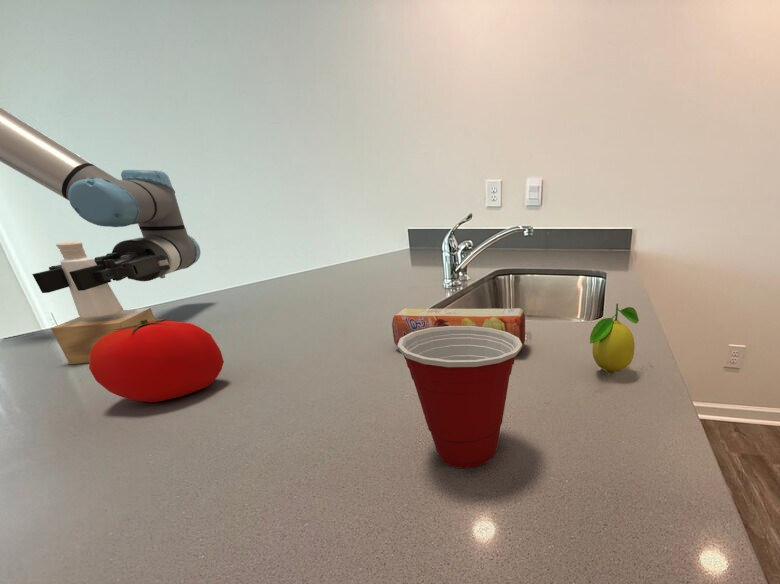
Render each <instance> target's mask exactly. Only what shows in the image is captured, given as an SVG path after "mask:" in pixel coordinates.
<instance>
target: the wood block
mask: <svg viewBox="0 0 780 584" xmlns="http://www.w3.org/2000/svg"><path fill="white" fill-rule="evenodd" d="M141 320H147V321H151V320H156V319H155V316H154V313H153V310H152V309H151V308H150V307H147V308H134V309H123V311H121V312H118V313H116V314H111V315H106V316H101V317H91V318H84V317H81V316H77V317H75V318H73V319H70V320H68V321H65V322H62V323H60V324H57V325H55V326H52V327H50V330H51V332H52V334H53V335H54V337H55V340H56V341H57V344H58V345H59V347H60V349H61V351H62V352H63V354H64V356H65V359H66V360H67V362H68V363H69V365H79V364H89V362H90V351H91V350H92V348H93V347H94V345H95V343H96V342H97V341H98V340H99V339H100V338H102V337H104V336H106V335H108V334H110V333H112V332H114V331H116V330H113V329H119V328H124V327H129V326H133V325H137V324H139V323H138V322H140V321H141ZM108 330H111V331H108Z"/></svg>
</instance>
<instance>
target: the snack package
mask: <svg viewBox="0 0 780 584" xmlns="http://www.w3.org/2000/svg"><path fill="white" fill-rule="evenodd" d="M444 326H475V327H484V328H492V329H496V330H500V331H504V332H508V333H510V334H512V335H514V336H516V337H518V338H519V339H520V341H521V343H522V348H521V350H520V351H519V352H518V354H520V353H521V352H522V350H523V349H524V348H523V347H524V345H525V341H526V315H525V311H524V310H523V309H522V308H520V307H516V308H407V307H403V308H401V309H400V310H398V311H397V312H396V313H395V314H394V315H393V317H392V322H391V327H392V336H393V342H394V344H395V346H397V345H398V343H399V340H400V338H402V337H404V336H405V335H407V334H409V333H411V332H415V331H419V330H423V329H427V328H435V327H444Z"/></svg>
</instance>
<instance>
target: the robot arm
mask: <svg viewBox="0 0 780 584" xmlns="http://www.w3.org/2000/svg"><path fill="white" fill-rule="evenodd" d="M0 162H1V163H2V164H4V165H6V166H7V167H9V168H11V169H13V170H15V171H16V172H18V173H20V174H22V175H23V176H25V177H27V178H28V179H30V180H32V181H33V182H35V183H37V184H39V185H41V186H43V187H44V188H46V189H48V190H49V191H52V192H53V193H55V194H56V195H58V196H59V197H62V198H63V199H66V200H67V201H69V204H70V206H71V207H72V209H73V210H74V211H75V212H76V213H77V215H78V216H79V217H81V218H82V219H83V220H84V221H87V222H88V223H90V224H93V225H95V226H99V227H108V228H109V227H111V228H122V227H123V228H124V227H128V226H131V225H133V226H134V225H137V226H138V227H139V230H140V232H141V235H142V236H140V237H135V238H131V239H125V240H123V241H119V242H118V243H116V244H115V246H114V247H113V248H112V250H111V252H109V253H106V254H105V255H101V256H96V257H94V258H93V260H94V261H95V263H96V264H97V265H95V266H91V267H87V268H83V269H79V270H75V271H71V272H69V273H70V275H71V277H72V279H73V281H74V283H75V285H76V287H77V289H78V291H82V290H87V289H90V288H93V287H96V286H99V285H103V284H106V283H108V284H109V283H111V282H112V281H114V282H115V281H116V282H119V281H122V280H124V279H126V278H127V279H128V280H133V281H137V282H151V281H152V280H156V279H163V280H164V279H165V278H166V275H168V274H171V273H174V272H177V271H180V270H185V269H188V268H190V267H191V266H193V265H194V264H195V263H197V262H198V261H199V260H200V257H201V248H200V245H199V243H198V242H197V240H196V239H195V238H194V237H193V236H191V235H190V234H188V232H187V228H186V226H185V224H184V220H183V217H182V213H181V210H180V206H179V204H178V199H177V196H176V190H175V189H174V187H173V185H172V182H171V179H170V177H169V175H168V174H167V173H166V172H165V171H162V170H151V169H122V171H121V173H120V176H121V179H118V178H116V177H115V176H113V175H112V174H109V173H108V172H106V171H105V170H103V169H101V168H99V167H98V166H97V165H95V164H93V162H90V161H89V160H87V159H86V158H84V157H82V156H81V155H79V154H77V153H76V152H74V151H73V150H72V149H69V148H68V147H66V146H65V145H63V144H61V143H60V142H58V141H56V140H55V139H53V138H52V137H50V136H48V135H46V134H45V133H43V132H42V131H41V130H38V129H37V128H35V127H34V126H32V125H31V124H29V123H27V122H26V121H24V120H22V119H21V118H19V117H18V116H16V115H15V114H12V112H9V110H6V109H5V108H2V107H1V106H0ZM31 275H32V277H33V278H34V280H35V282H36V284H37V286H38V288H39V289H40V291H41V294H50V293H53V292H56V291H59V290H63V289H66V288H69V287H70V286H69V284H68V281H67V279H66V276H65V274H64V271H63V268H62V266H61V264H57V265H51V266H49V267H48V270H45V271H39V272H36V273H35V272H34V273H32V274H31Z"/></svg>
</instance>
